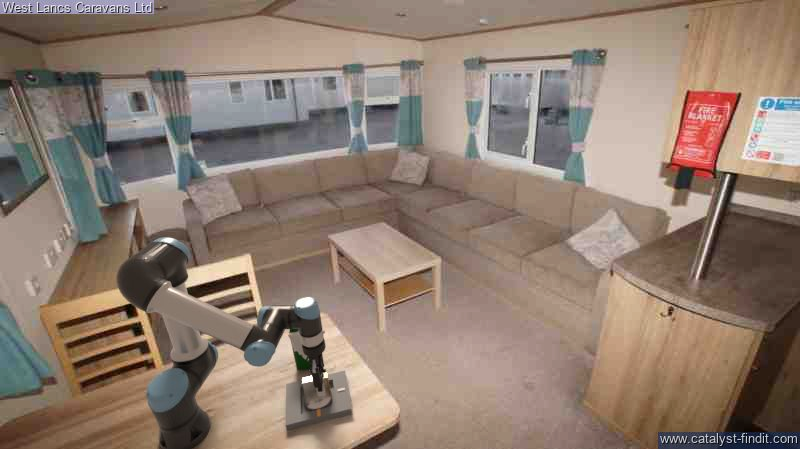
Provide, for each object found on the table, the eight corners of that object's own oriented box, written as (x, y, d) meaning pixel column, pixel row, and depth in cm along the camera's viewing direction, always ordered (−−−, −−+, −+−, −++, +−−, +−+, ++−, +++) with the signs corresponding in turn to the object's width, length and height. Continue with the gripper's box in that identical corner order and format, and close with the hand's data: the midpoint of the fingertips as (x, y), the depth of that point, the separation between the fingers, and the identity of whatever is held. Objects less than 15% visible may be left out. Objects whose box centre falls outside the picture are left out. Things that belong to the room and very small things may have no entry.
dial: (304, 414, 131) (299, 392, 127) (304, 391, 140) (299, 370, 136) (333, 407, 133) (329, 385, 129) (331, 385, 142) (327, 364, 138)
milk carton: (299, 355, 158) (291, 316, 150) (321, 355, 158) (314, 316, 150) (294, 371, 150) (285, 331, 142) (316, 371, 150) (309, 331, 142)
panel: (286, 430, 127) (285, 424, 125) (287, 388, 143) (286, 383, 141) (352, 413, 131) (351, 407, 130) (345, 375, 147) (344, 369, 146)
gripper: (322, 356, 119) (331, 409, 129) (325, 323, 133) (334, 373, 143) (298, 359, 118) (309, 412, 128) (304, 326, 133) (314, 375, 143)
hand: (322, 391), depth 136 cm, fingers closed on dial, 3 cm apart
